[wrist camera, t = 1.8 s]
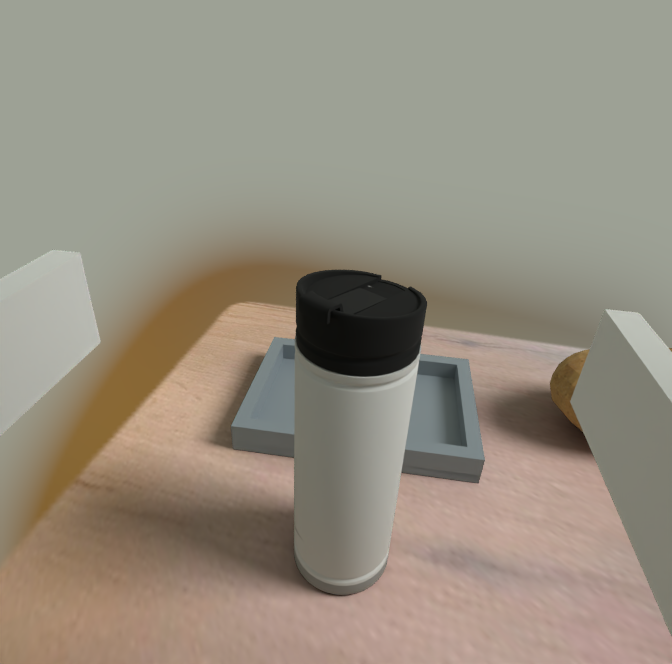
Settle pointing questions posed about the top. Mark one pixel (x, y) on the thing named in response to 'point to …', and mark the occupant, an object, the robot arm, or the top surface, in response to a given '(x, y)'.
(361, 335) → the travel mug
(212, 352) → the top surface
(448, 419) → the tray
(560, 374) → the potato
